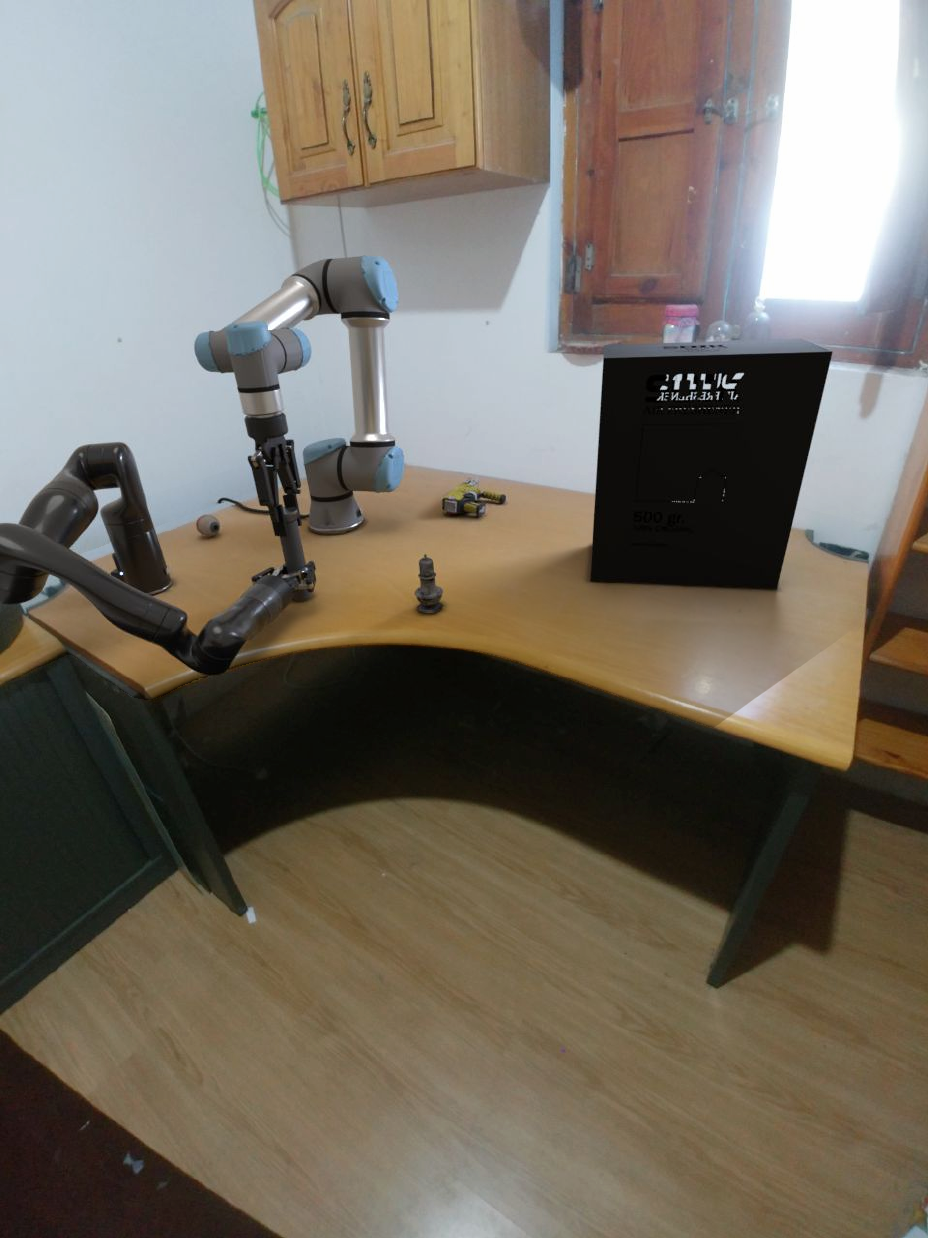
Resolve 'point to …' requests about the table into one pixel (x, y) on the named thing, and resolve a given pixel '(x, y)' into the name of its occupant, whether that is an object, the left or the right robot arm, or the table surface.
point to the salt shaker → (428, 588)
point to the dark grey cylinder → (294, 556)
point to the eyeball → (208, 525)
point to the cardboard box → (703, 460)
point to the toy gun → (468, 499)
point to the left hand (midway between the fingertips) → (302, 564)
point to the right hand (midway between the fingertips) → (288, 530)
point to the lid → (290, 513)
